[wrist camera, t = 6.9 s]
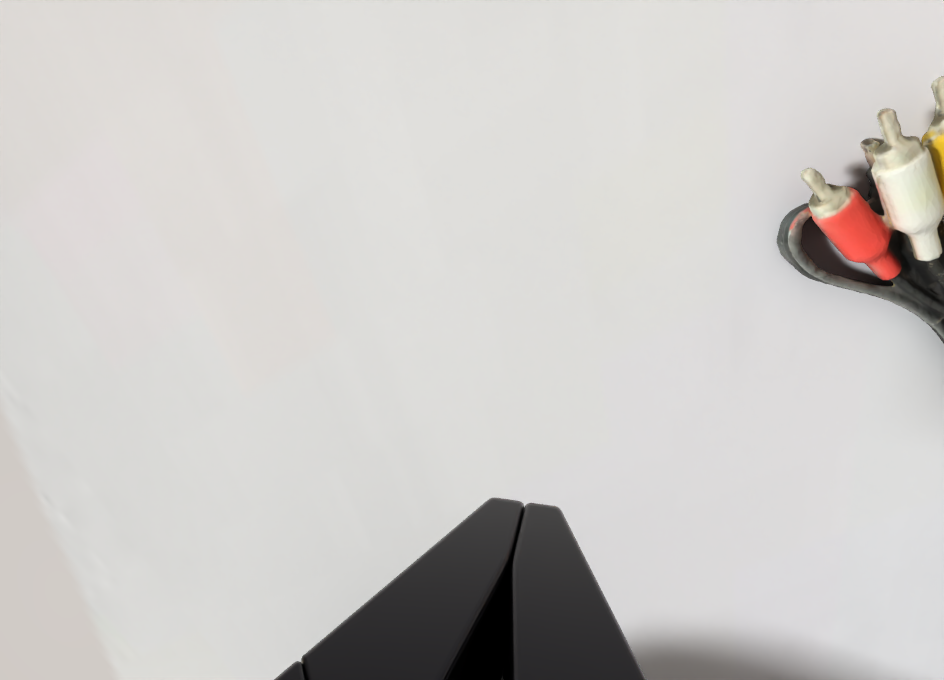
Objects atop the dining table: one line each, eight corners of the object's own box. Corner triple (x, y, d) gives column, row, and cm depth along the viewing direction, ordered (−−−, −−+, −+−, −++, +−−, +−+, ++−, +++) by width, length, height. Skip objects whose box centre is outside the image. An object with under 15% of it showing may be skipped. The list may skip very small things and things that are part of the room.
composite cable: (1095, 373, 17) (1169, 416, 15) (914, 456, 19) (955, 505, 17) (913, 63, 16) (965, 59, 13) (733, 185, 17) (752, 200, 15)
